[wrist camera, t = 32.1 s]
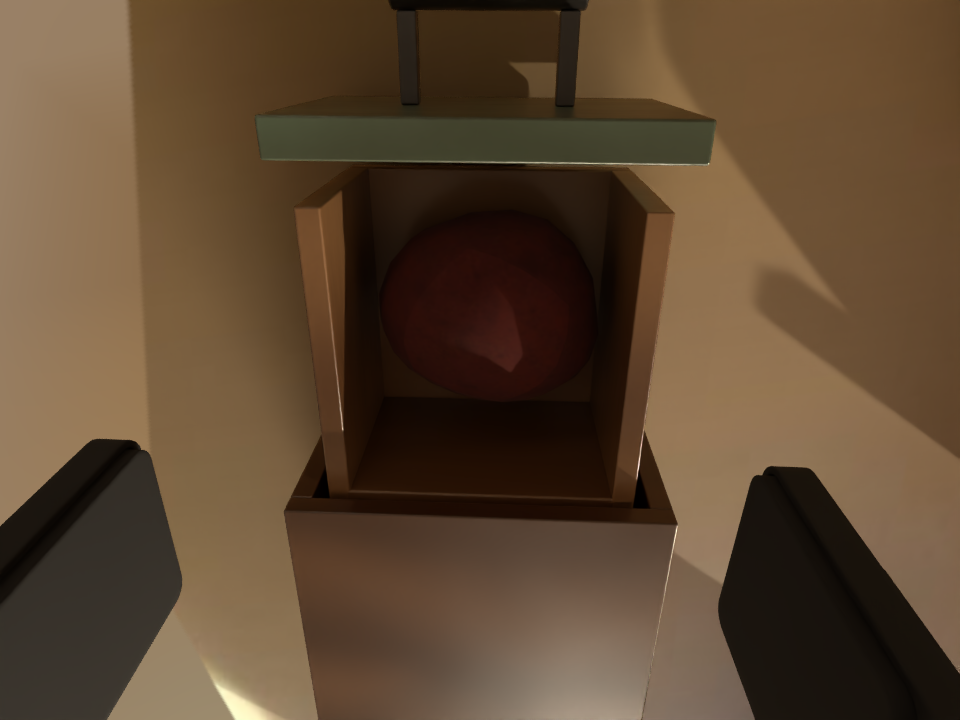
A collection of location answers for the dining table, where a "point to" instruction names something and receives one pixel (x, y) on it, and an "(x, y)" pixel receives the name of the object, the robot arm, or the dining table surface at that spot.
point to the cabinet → (479, 603)
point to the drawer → (462, 189)
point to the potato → (491, 306)
